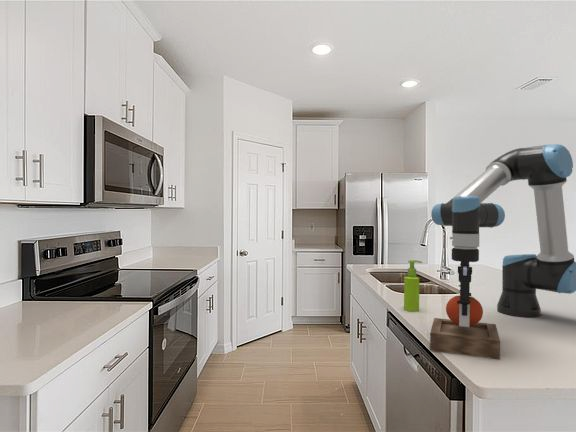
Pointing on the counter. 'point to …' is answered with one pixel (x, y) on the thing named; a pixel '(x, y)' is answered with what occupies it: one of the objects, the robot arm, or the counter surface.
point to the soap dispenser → (411, 289)
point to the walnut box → (465, 339)
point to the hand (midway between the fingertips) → (464, 321)
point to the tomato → (475, 310)
